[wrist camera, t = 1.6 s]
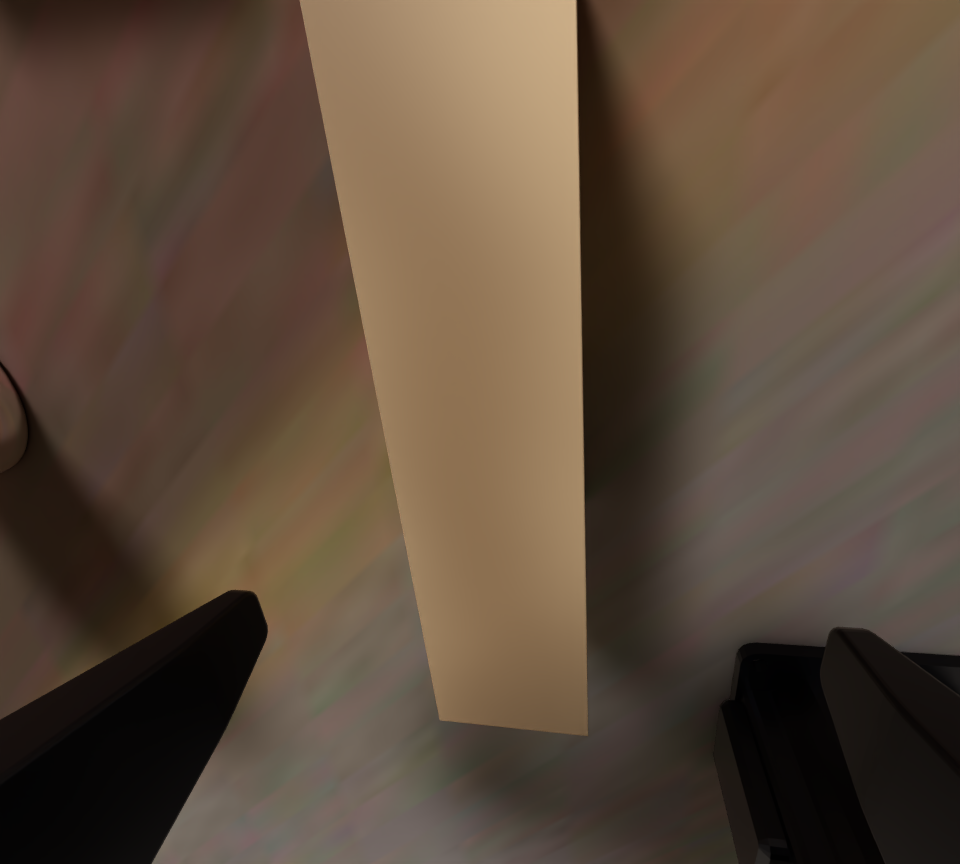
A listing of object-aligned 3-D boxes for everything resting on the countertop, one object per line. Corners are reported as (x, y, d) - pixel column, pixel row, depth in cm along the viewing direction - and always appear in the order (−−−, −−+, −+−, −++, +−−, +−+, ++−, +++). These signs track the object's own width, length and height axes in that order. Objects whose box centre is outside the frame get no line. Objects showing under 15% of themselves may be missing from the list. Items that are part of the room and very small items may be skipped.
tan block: (576, -37, 9) (568, -491, 3) (585, 502, 14) (588, 736, 8) (449, -11, 10) (229, -360, 4) (499, 500, 15) (440, 719, 9)
